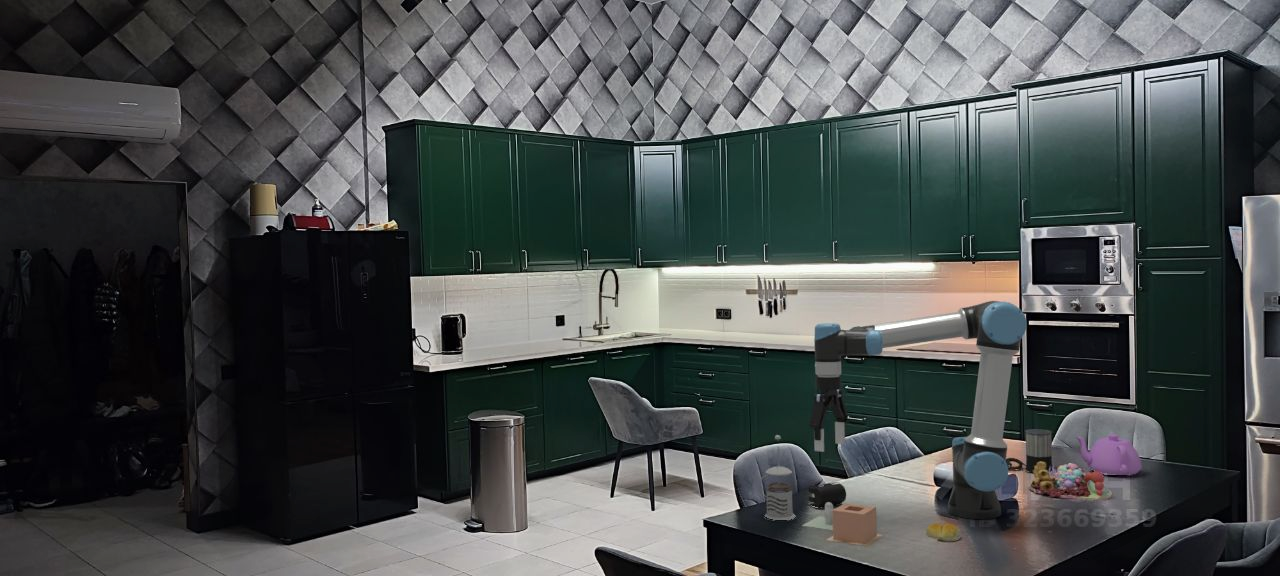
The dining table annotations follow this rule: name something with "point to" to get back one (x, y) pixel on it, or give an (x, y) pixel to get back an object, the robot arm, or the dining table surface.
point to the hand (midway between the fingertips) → (829, 447)
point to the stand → (858, 543)
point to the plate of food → (1069, 483)
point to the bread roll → (943, 532)
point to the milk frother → (1035, 450)
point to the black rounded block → (827, 494)
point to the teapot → (1111, 456)
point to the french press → (778, 494)
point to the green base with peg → (823, 519)
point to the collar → (854, 523)
